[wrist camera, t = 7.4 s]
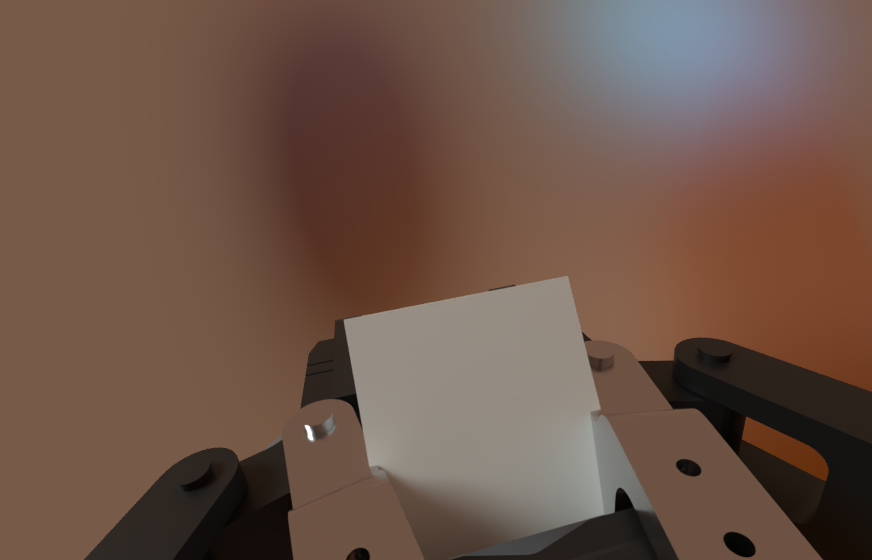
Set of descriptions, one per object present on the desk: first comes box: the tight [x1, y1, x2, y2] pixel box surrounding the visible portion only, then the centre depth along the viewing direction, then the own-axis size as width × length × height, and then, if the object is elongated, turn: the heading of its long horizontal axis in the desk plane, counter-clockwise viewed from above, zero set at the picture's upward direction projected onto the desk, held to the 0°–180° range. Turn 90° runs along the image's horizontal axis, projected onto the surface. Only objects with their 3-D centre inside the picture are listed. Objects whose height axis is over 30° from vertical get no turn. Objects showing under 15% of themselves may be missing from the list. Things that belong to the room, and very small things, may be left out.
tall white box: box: [344, 276, 604, 560], centre depth 17 cm, size 4×22×4 cm, turn 6°
